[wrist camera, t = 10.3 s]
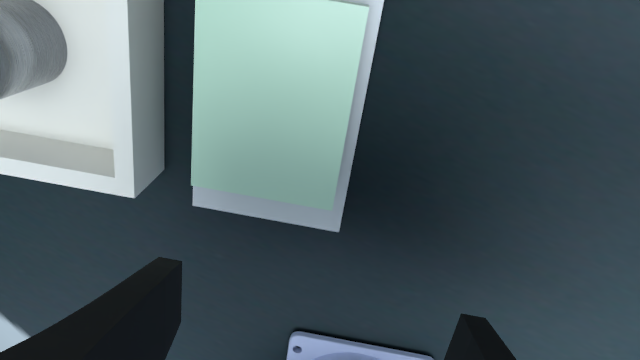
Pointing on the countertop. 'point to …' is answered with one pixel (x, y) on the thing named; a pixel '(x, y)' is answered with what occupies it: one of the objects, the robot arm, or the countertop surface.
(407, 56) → the countertop surface
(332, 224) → the base
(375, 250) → the countertop surface
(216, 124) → the mint green flat block
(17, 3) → the cell
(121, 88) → the white tray
